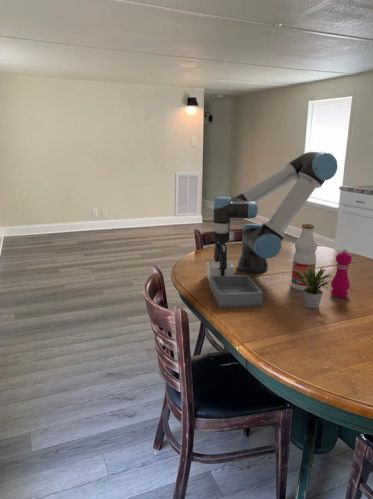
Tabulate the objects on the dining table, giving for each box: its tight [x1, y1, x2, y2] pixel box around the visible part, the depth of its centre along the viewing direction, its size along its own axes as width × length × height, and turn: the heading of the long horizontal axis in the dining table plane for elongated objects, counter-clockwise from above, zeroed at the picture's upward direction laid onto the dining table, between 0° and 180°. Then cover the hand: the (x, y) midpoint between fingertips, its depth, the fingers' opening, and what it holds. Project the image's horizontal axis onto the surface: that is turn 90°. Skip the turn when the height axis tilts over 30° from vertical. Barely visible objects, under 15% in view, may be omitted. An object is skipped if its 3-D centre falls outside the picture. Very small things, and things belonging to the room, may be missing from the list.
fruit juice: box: [290, 223, 318, 292], centre depth 162 cm, size 9×9×28 cm
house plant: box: [298, 266, 336, 309], centre depth 142 cm, size 14×14×16 cm
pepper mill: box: [330, 248, 353, 298], centre depth 155 cm, size 7×7×20 cm
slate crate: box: [208, 274, 264, 309], centre depth 153 cm, size 17×21×6 cm
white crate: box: [206, 261, 235, 281], centre depth 174 cm, size 11×8×7 cm
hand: (219, 278), depth 174 cm, fingers open, 9 cm apart
